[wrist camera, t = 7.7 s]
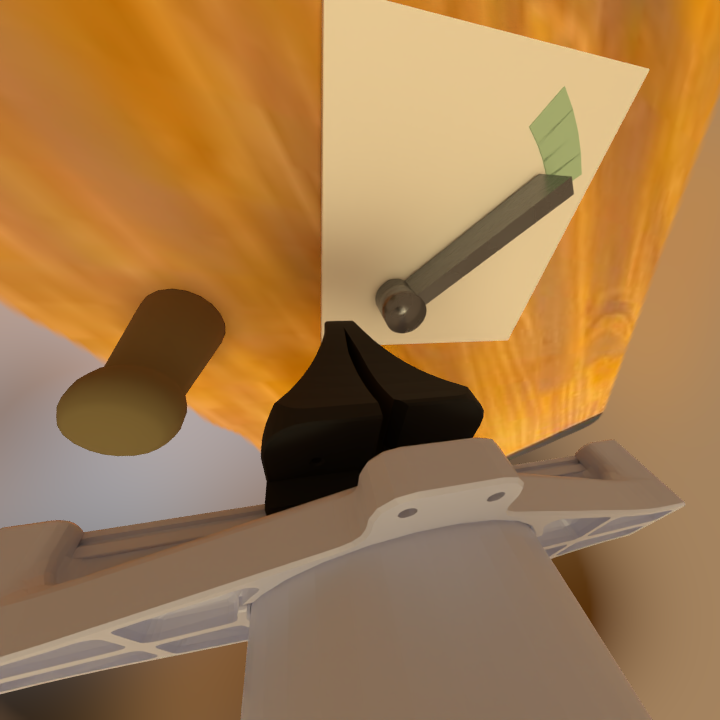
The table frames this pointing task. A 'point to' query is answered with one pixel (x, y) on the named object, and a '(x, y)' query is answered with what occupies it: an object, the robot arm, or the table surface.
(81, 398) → the cork
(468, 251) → the pointer
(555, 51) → the dial board
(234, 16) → the table surface
